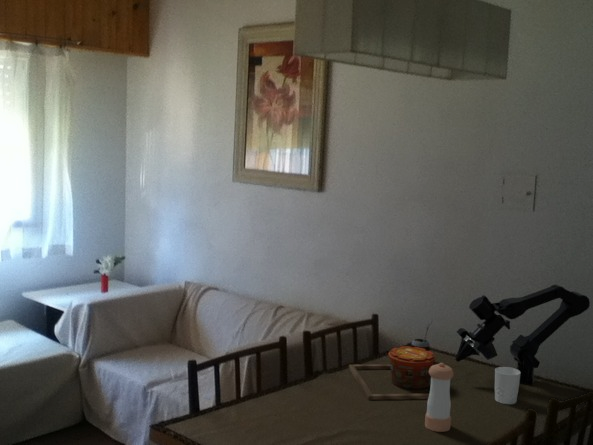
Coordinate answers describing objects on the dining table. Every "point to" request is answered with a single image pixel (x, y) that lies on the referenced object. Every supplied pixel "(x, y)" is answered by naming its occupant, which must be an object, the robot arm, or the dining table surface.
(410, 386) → the food container
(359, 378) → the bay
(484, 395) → the dining table surface
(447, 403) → the pepper shaker
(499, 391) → the white cup
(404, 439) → the dining table surface
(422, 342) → the mate gourd
